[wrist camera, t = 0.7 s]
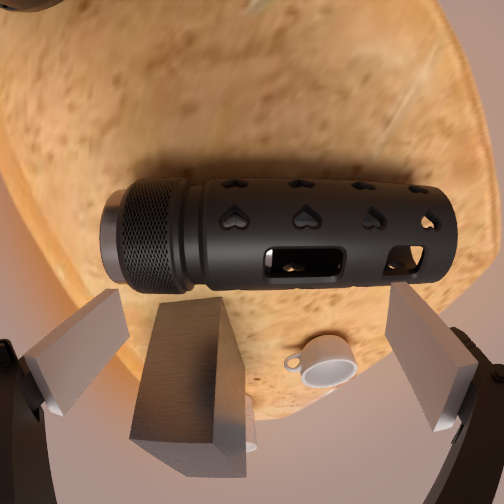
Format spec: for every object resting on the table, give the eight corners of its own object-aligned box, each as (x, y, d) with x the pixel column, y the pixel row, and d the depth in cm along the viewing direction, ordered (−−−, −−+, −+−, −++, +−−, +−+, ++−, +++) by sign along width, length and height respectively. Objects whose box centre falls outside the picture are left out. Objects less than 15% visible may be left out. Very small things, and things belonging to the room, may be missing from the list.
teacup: (355, 326, 40) (364, 356, 36) (341, 357, 45) (348, 385, 40) (285, 328, 40) (289, 361, 35) (279, 360, 44) (282, 390, 40)
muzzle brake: (396, 243, 32) (435, 306, 24) (146, 245, 32) (117, 316, 23) (415, 165, 27) (474, 215, 18) (129, 162, 26) (81, 215, 18)
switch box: (157, 303, 37) (126, 438, 22) (221, 296, 36) (212, 443, 21) (194, 371, 46) (184, 476, 31) (245, 368, 45) (246, 477, 31)
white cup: (207, 391, 50) (204, 441, 42) (250, 388, 49) (251, 439, 41) (220, 409, 55) (218, 454, 46) (259, 405, 54) (260, 451, 46)
